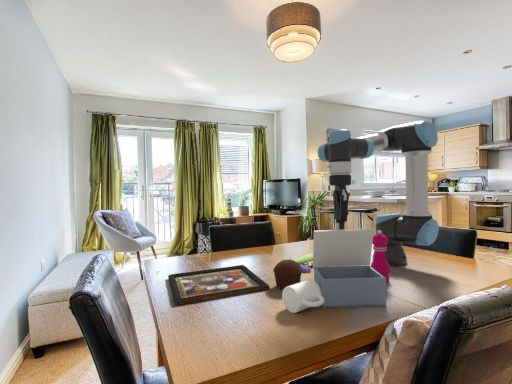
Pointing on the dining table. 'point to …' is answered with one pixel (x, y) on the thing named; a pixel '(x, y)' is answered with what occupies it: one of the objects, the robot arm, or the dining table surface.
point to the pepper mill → (380, 255)
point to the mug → (302, 296)
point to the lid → (342, 247)
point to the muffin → (287, 273)
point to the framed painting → (214, 284)
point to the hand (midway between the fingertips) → (341, 240)
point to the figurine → (305, 260)
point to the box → (351, 286)
